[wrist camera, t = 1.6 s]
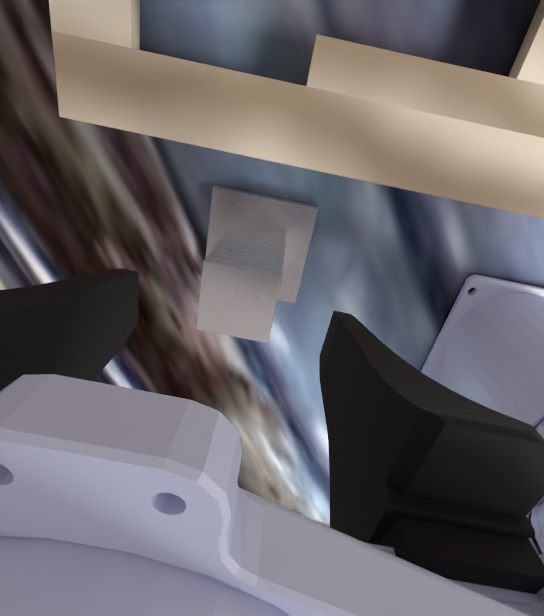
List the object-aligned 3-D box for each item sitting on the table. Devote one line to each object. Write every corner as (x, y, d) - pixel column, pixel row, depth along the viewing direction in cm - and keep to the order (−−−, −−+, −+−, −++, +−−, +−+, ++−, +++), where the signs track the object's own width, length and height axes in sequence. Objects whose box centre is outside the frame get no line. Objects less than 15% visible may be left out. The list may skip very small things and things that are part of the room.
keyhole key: (295, 296, 22) (295, 377, 14) (206, 279, 22) (159, 351, 14) (317, 205, 19) (332, 246, 12) (216, 184, 19) (164, 212, 12)
